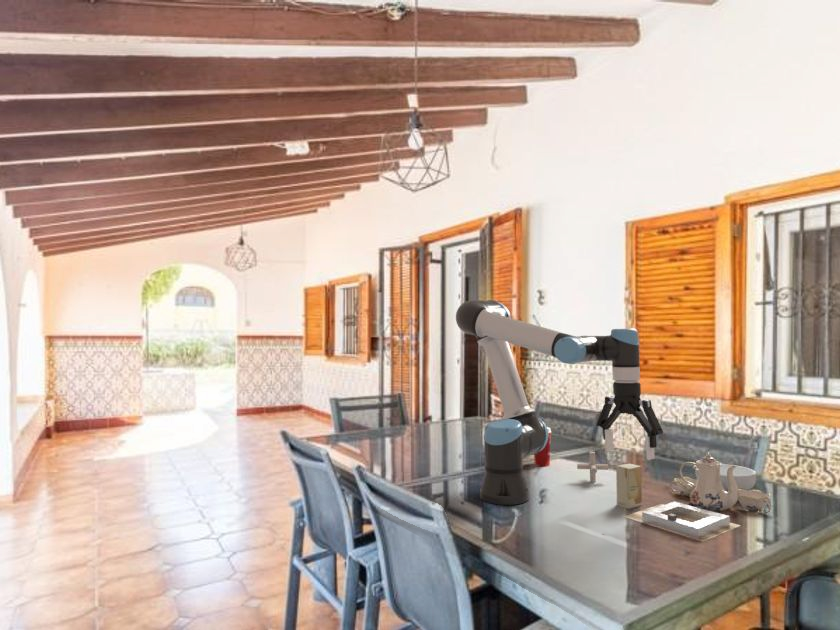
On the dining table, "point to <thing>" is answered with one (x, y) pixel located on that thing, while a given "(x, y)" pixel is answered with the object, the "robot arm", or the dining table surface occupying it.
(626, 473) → the skincare box
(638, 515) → the board
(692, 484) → the chinaware
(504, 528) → the dining table surface
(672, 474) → the dining table surface
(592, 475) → the pipe connector
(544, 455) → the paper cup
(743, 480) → the cereal bowl
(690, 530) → the white square frame
